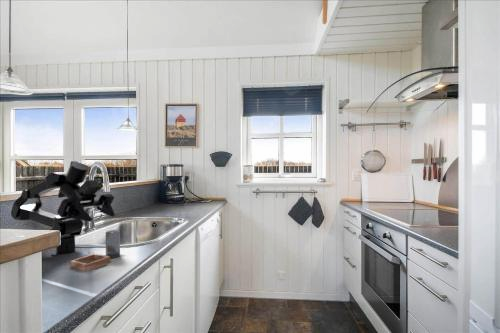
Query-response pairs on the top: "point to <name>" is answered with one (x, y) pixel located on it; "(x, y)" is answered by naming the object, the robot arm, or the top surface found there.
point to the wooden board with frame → (98, 262)
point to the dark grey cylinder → (113, 244)
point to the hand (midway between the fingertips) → (103, 217)
